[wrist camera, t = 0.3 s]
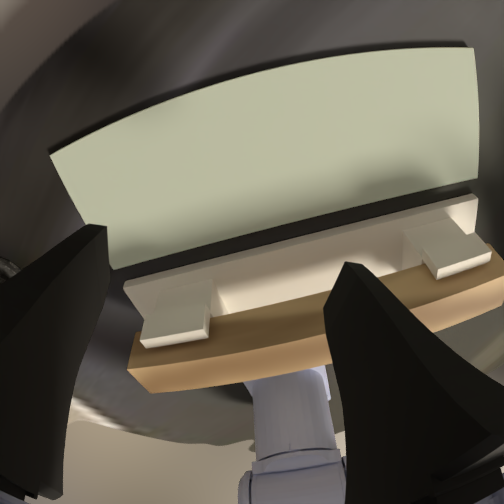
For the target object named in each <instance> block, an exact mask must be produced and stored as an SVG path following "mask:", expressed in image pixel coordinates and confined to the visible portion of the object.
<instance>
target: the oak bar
mask: <svg viewBox="0 0 504 504" xmlns="http://www.w3.org/2000/svg"><path fill="white" fill-rule="evenodd" d="M486 245H487V246H488V247H489V249H490V250H491V251H492V253H491V257H490V262H487V263H485V264H482V265H479V266H476V267H474V268H471V269H468V270H465V271H462V272H459V273H456V274H453V275H450V276H447V277H444V278H441V279H438V280H436V279H435V277H434V276H433V274H432V273H431V271H430V270H429V268H428V267H427V265H426V264H422V265H418V266H415V267H411V268H408V269H405V270H401V271H398V272H394V273H391V274H387V275H384V276H380V277H377V278H378V279H379V280H380V281H381V282H382V283H383V284H384V285H385V286H386V287H387V288H388V289H389V290H390V291H391V292H392V293H393V294H394V295H395V296H396V297H397V298H398V299H399V300H400V301H401V302H402V303H403V304H404V305H405V306H406V307H407V308H408V309H409V310H410V311H411V312H412V313H413V314H414V315H415V316H416V317H417V318H418V319H419V320H420V321H421V322H422V323H423V324H424V325H425V326H426V327H427V328H428V329H429V330H430V331H431V332H432V333H433V332H436V331H439V330H442V329H444V328H447V327H450V326H452V325H455V324H458V323H460V322H463V321H465V320H468V319H470V318H473V317H475V316H478V315H480V314H482V313H485V312H487V311H489V310H492V309H494V308H496V307H499V306H501V305H502V303H503V300H504V260H503V259H502V258H501V257H500V256H499V254H498V253H497V252H496V251H495V250H494V249H493V247H492V246H491V245H490V244H489V243H487V244H486ZM330 292H331V290H328V291H324V292H320V293H316V294H312V295H308V296H304V297H300V298H296V299H292V300H288V301H284V302H279V303H275V304H271V305H267V306H262V307H258V308H253V309H249V310H245V311H240V312H235V313H231V314H226V315H221V316H217V317H212V318H210V324H209V338H206V339H201V340H195V341H189V342H184V343H178V344H172V345H166V346H160V347H153V348H147V349H146V348H145V347H144V345H143V344H142V343H141V342H140V336H141V332H142V331H139V332H136V333H135V337H134V341H133V345H132V349H131V354H130V358H129V362H128V367H127V370H128V371H129V372H130V373H131V374H132V375H133V376H134V377H135V378H136V379H137V380H138V381H139V382H140V383H141V384H142V385H143V386H144V387H145V388H146V389H147V390H148V391H149V392H150V393H161V392H171V391H181V390H189V389H197V388H205V387H212V386H219V385H226V384H232V383H239V382H245V381H250V380H256V379H261V378H267V377H272V376H277V375H282V374H287V373H292V372H296V371H301V370H305V369H310V368H314V367H318V366H322V365H327V364H331V363H332V359H331V354H330V350H329V346H328V342H327V338H326V332H325V324H324V314H323V307H324V305H325V303H326V301H327V298H328V296H329V294H330Z"/></svg>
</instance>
